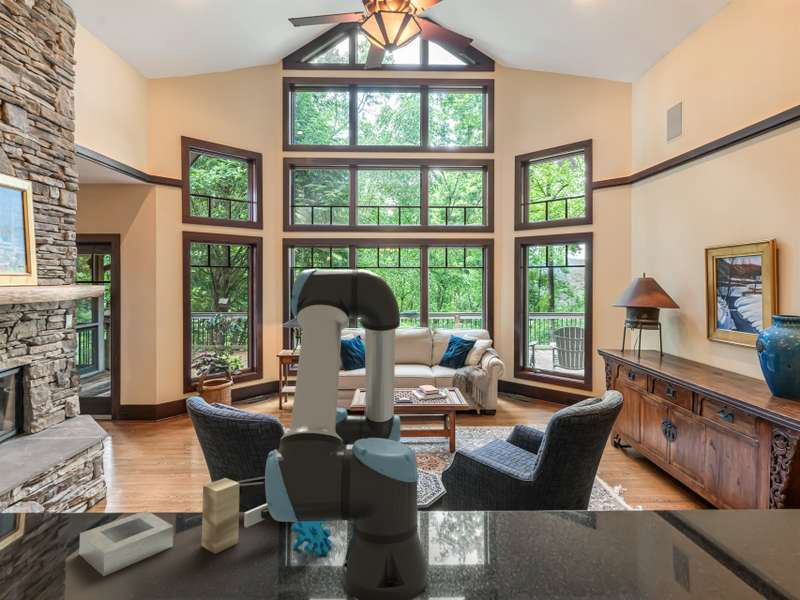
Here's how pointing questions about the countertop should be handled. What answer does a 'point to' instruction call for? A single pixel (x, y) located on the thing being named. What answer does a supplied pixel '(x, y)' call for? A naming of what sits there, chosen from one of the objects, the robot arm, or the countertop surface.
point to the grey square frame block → (125, 542)
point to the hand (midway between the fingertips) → (225, 510)
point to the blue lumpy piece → (312, 536)
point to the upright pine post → (220, 515)
